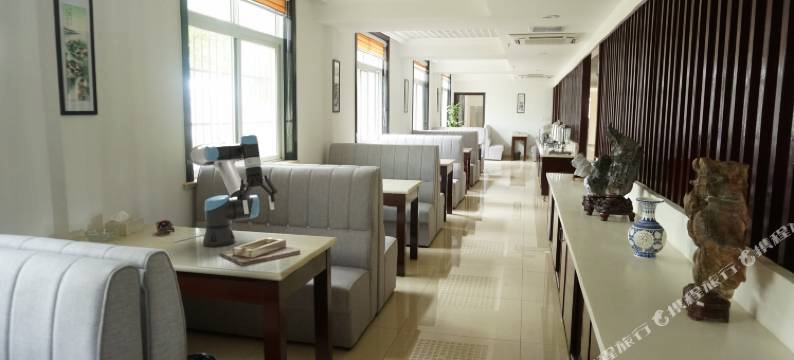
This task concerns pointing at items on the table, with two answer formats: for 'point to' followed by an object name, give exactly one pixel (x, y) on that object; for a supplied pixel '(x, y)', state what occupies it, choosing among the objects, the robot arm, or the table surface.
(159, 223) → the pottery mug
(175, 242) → the plaque
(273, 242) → the wooden tray
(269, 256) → the display board
